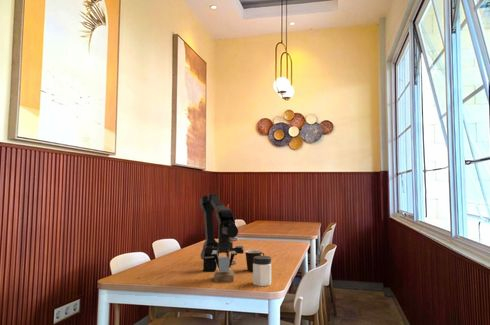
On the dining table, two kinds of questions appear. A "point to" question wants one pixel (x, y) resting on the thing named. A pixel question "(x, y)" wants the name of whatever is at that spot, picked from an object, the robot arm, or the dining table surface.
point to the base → (224, 276)
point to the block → (224, 264)
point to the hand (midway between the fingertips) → (224, 267)
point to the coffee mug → (251, 258)
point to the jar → (262, 270)
